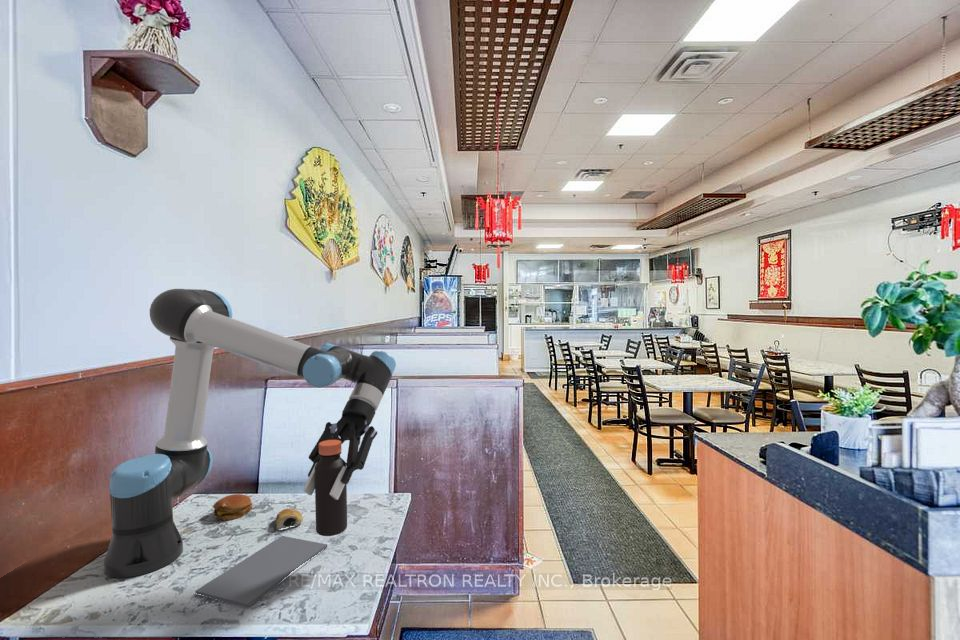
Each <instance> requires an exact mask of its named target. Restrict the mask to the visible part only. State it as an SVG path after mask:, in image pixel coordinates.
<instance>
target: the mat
mask: <svg viewBox="0 0 960 640" xmlns="http://www.w3.org/2000/svg"><path fill="white" fill-rule="evenodd" d="M326 547H327V548H328V544H327V543H323V542H317V541H311V540H306V539H301V538H296V537H290V536H285V535H281V536H279V537H278V538H276V539H274V540H273V541H272V542H270V543H268V544H266V545H265V546H264V547H262V548H261V549H259V550H257V551H256V552H254V553H253V554H252V553H251V555H249V556H248V557H246V558H245V559H243V560H241V561H240V562H238V563H237V564H235V565H233V566H232V567H231V568H229V569H227V570H226V571H224V572H223V573H221V574H219V575H218V576H217V577H215V578H213V579H212V580H210V581H209V582H207V583H206V584H203V585H202V586H201V587H199V588H198V589H196V590H195V594H196V593H197V594H201V595H204V596H207V597H211V598H213V599H212V600H214V599H217V600H216V601H218V600H220V601H219V602H222V601H223V603H225V602H227V603H226V604H230V605H233V606H237V607H241V608H243V609H245V608H246V609H249V608H250V607H251V606H253V605H254V604H255V603H257V602H258V601H259V600H260V599H262V598H264V597H265V596H266V595H267V594H268V593H270V592H271V591H273V588H274V589H275V588H277V587H278V586H279V585H280V584H281V583H282V582H281V581H282V580H283V579H284V578H285V577H287V576H288V575H289V574H290V573H291V572H292V571H294V570H295V569H296V568H298V567H299V566H300V565H302V564H303V563H305V562H306V561H308V560H309V559H311V558H312V557H314V556H315V555H317V554H318V553H319V552H321V551H322V550H323V549H325V548H326ZM327 548H326V549H327ZM326 549H325V550H326ZM323 551H324V550H323ZM323 551H322V552H323ZM322 552H321V553H322ZM318 555H319V554H318ZM318 555H317V556H318ZM314 558H315V557H314ZM280 582H281V583H280ZM279 583H280V584H279ZM278 584H279V585H278ZM277 585H278V586H277ZM269 591H270V592H269ZM265 594H266V595H265ZM207 597H206V598H207Z"/></svg>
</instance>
